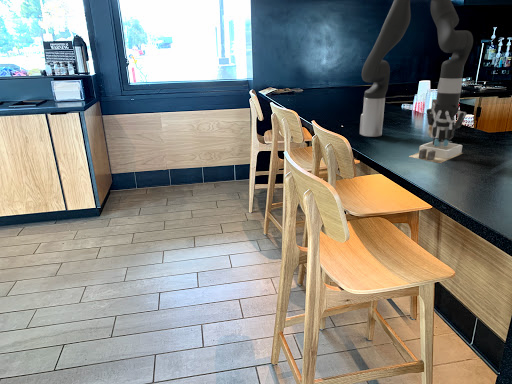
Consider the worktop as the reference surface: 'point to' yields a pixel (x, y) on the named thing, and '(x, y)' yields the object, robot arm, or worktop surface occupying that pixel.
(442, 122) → the push button
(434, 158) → the board
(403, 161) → the worktop surface
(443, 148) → the white open box
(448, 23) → the robot arm
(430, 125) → the coffee box
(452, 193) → the worktop surface
